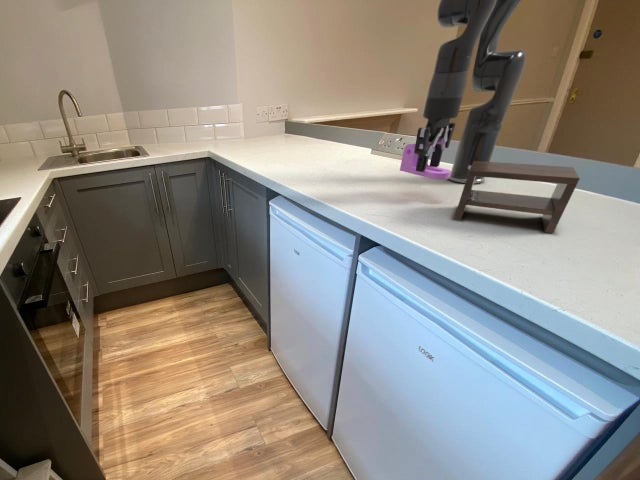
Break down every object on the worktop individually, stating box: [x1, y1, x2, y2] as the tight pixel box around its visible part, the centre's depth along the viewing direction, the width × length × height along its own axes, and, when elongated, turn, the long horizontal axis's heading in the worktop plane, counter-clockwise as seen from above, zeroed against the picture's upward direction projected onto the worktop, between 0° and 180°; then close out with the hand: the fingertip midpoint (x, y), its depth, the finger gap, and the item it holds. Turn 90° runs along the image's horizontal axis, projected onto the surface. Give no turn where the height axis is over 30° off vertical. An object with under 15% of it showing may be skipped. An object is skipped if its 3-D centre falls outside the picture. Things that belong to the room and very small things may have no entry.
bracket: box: [399, 143, 452, 180], centre depth 88 cm, size 13×6×7 cm, turn 21°
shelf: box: [453, 161, 580, 234], centre depth 75 cm, size 11×18×11 cm, turn 55°
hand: (427, 168), depth 89 cm, fingers closed on bracket, 6 cm apart
